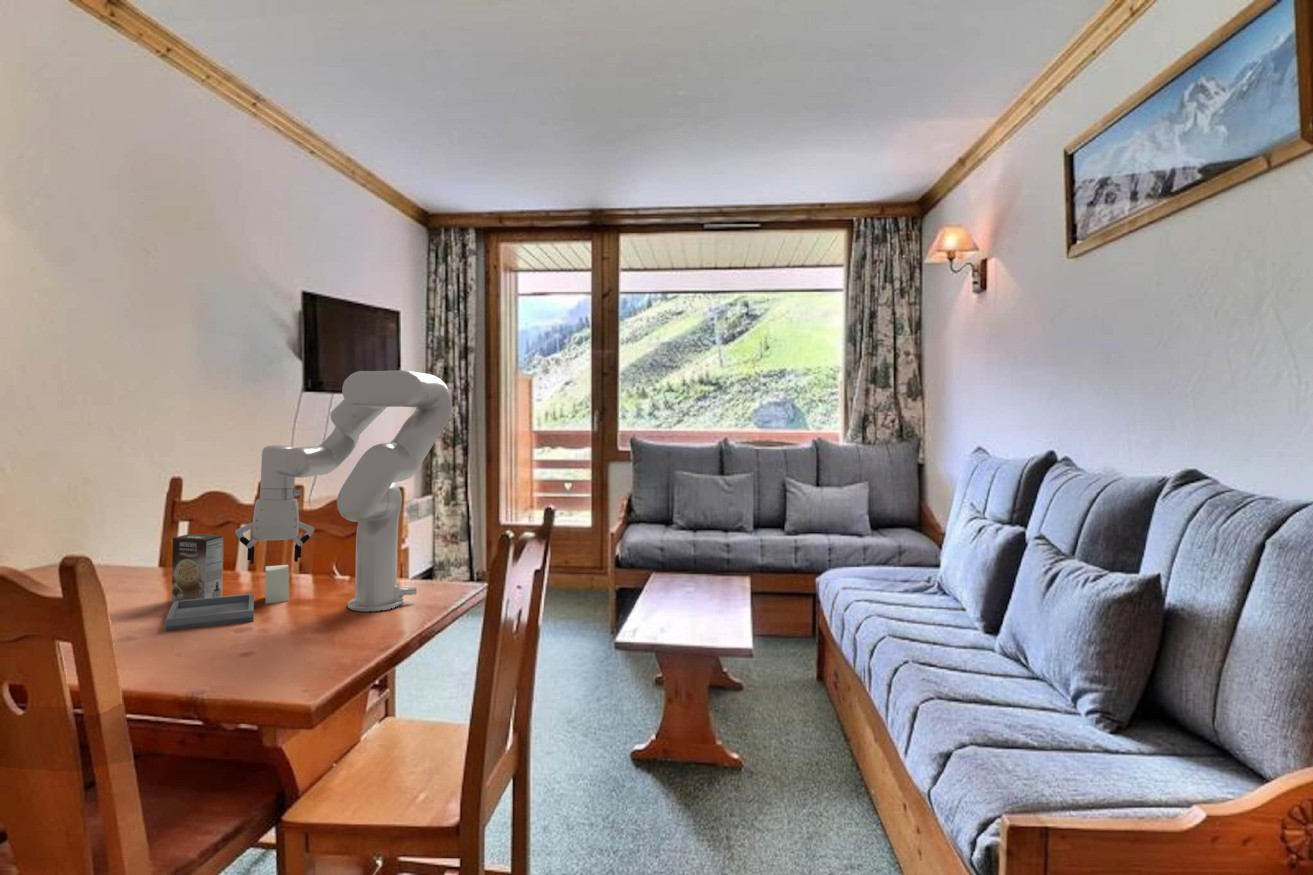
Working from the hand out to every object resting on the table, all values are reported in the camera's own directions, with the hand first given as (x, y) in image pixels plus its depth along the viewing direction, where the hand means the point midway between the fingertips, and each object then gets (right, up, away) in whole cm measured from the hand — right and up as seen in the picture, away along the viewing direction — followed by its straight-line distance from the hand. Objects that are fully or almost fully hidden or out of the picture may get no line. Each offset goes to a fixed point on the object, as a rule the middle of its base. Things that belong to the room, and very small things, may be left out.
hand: (274, 561), depth 167 cm
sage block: (+1, -10, 0) cm, 10 cm away
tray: (-5, -10, -15) cm, 19 cm away
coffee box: (-18, -9, -3) cm, 20 cm away
